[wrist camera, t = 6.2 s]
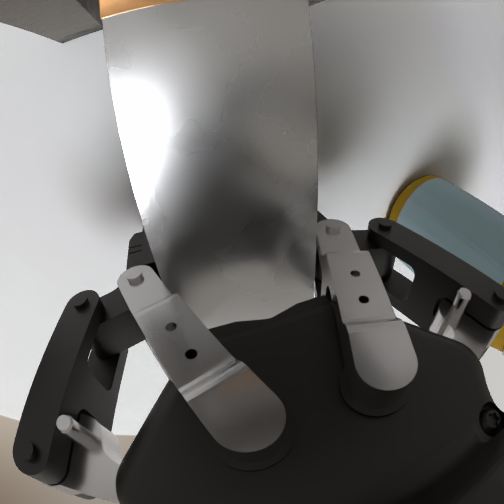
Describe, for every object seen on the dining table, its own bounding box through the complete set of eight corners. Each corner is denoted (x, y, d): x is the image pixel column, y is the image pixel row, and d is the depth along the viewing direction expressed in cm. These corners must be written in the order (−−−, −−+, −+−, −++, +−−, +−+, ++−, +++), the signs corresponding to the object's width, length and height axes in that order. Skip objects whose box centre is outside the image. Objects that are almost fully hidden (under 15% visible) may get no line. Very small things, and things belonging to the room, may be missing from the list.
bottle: (378, 265, 21) (506, 411, 9) (384, 182, 17) (575, 337, 5) (436, 238, 22) (553, 348, 10) (446, 165, 18) (600, 272, 6)
